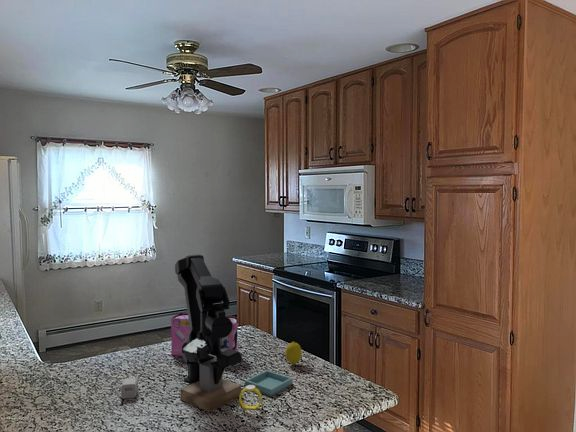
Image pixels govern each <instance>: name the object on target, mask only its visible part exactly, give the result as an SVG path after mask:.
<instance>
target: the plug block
mask: <svg viewBox="0 0 576 432" xmlns="http://www.w3.org/2000/svg"><path fill="white" fill-rule="evenodd" d="M214 361H215V359H211V360H208V361H206V362H203V363H201V364H200V389H203V390H205V391H208V392H211V391H213V390H215V389H217V388H219V387H221V386H222V379H223V375H222V376H221V378H220V381H219V383H218V384H215V383H214V368H213V366H212V365H211V364H210V363H212V362H214Z"/></svg>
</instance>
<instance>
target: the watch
mask: <svg viewBox="0 0 576 432" xmlns="http://www.w3.org/2000/svg"><path fill="white" fill-rule="evenodd" d="M245 392H249V393H251V392H255V393H257V395H258V397H259V402H258V404H256V405H246V404H245V403H244V402H243V400H242V396H243V394H244V393H245ZM262 397H263V396H262V393H260V391H259V390H258V389H256V388H255V386H254V385H248V386H246V387H245V386H244V388H243V389H241V393H240V396H239V397H238V402H239V405H240V406H241V407H242V409H244V410H257V409H258V408H259V407H260V406H261V404H262V401H263V398H262Z"/></svg>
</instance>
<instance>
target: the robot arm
mask: <svg viewBox="0 0 576 432" xmlns="http://www.w3.org/2000/svg"><path fill="white" fill-rule="evenodd" d="M174 272H175V275H176V276H177V281H178V282H179V283H180V284H181V285H182V287H183V288H184V295H185V303H186V311H187V313H188V319H189V326H190V333H189V335H188V338H187V340H186V342H185V343H184V344H183V346H182V353H183V356H182V359H183V362H184V363H185V364H186V365H187V376H186V377H184V378H183V381H185V382H188V383H189V384H193V383H195V382H197V381H200V364H201V363H203V362H206V361H208V360H211V359H214V357H216V359H215V361H214V362H212V363H210V364H211V365H212V366H213V368H214V383H215V384H218V383H219V381H220V378H221V376H222V377H223V374H224V372H225V370H226V368H230V367H232V366H235V365H236V364H238V363H241V362H242V356H243V355H242V353H241V352H240V351H238V350H237V351H236V350H232V349H229V350H226V351H224V352H222V351H221V349H223V348H224V344H221V338H224V337H226V336H228V335H229V334H230V333H231V331H232V328H233V324H232V321H231V320H230V319H229V318H228V317H227V316H228V315H226V311H225V310H230V306H229V305H230V303H231V301H230V299H229V296H228V292H227V290H226V287H225V286H224V285H223V283H222V282H221V281H220V279H218V278H216V277H213V276H212V273H211V272H210V270H209V268H208V266H207V265H206V262H205V259H204V255H203V254H189V255H186V256H185V257H184V258H180V259H179V260H177V261H176V263H175V265H174Z"/></svg>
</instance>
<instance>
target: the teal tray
mask: <svg viewBox="0 0 576 432" xmlns="http://www.w3.org/2000/svg"><path fill="white" fill-rule="evenodd" d="M248 385H254V386H255V388H256V389H258V390H259V391H260V393H261V395H262V394H264V395H265V396H268V397H273V396H275V395H277V394H278V393H280V392H282V391H284V390H286V389H287V388H289V387H291V386H292V385H293V378H292V377H289V376H287V375H283V374H280V373H277V372H274V371H271V370H267V369H265V370H263V371H262V372H260V373H258V374H255V375H254V376H251V377H248V378H247V379H245V380H244V388H245V387H246V386H248Z"/></svg>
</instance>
